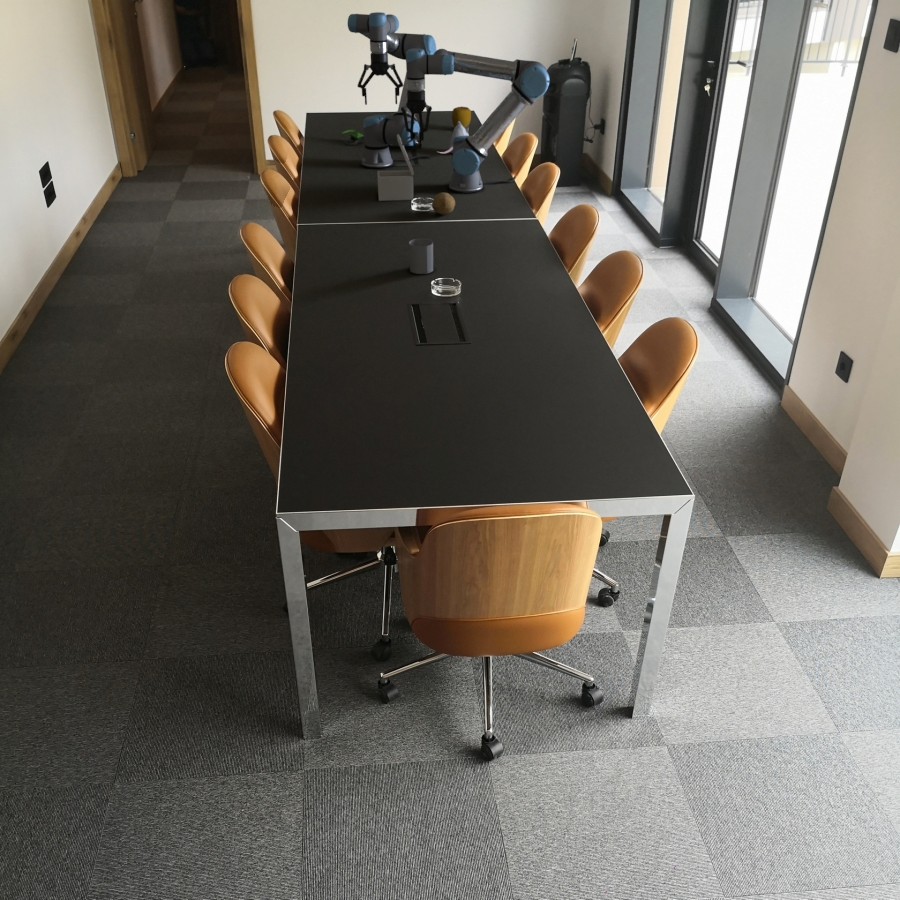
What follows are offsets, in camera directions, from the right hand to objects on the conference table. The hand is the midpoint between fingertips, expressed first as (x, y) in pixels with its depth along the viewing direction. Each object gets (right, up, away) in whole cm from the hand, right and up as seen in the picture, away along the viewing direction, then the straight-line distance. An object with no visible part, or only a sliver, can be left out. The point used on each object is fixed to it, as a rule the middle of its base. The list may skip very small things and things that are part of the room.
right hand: (417, 148), depth 372 cm
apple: (+21, +51, +119) cm, 131 cm away
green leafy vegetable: (-29, +36, +94) cm, 105 cm away
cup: (+4, -66, -64) cm, 92 cm away
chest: (-10, -18, +11) cm, 23 cm away
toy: (+16, +22, +72) cm, 77 cm away
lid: (-6, -3, +1) cm, 6 cm away
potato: (+11, -31, -9) cm, 34 cm away
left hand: (-17, +26, +17) cm, 35 cm away
